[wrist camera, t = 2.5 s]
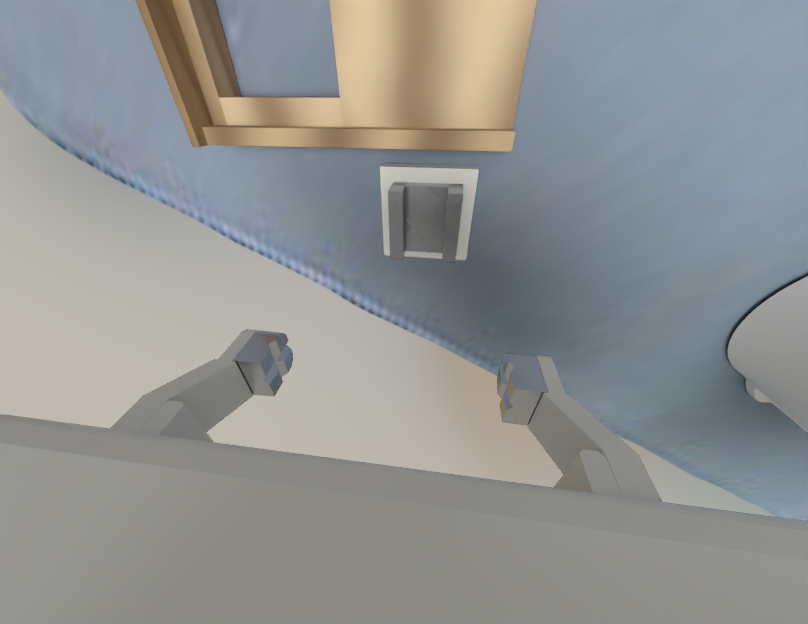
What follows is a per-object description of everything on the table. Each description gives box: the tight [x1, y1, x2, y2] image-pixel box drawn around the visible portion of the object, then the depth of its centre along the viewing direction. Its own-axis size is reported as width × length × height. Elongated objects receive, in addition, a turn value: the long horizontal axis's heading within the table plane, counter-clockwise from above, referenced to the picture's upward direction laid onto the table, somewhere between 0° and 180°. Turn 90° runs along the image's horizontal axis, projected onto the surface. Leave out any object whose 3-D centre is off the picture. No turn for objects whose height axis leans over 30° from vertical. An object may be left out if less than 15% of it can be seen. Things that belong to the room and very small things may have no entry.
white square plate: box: [380, 163, 479, 260], centre depth 23 cm, size 7×7×1 cm
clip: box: [388, 182, 463, 263], centre depth 22 cm, size 5×5×2 cm
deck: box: [136, 0, 537, 151], centre depth 16 cm, size 20×12×4 cm, turn 90°
